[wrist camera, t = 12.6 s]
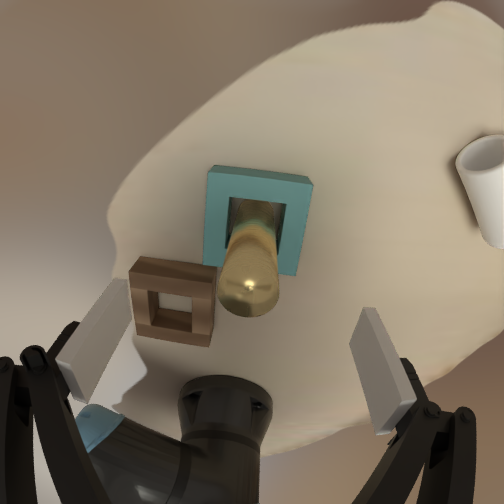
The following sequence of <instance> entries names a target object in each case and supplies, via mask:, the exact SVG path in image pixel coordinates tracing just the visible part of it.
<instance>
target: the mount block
mask: <svg viewBox="0 0 504 504" xmlns="http://www.w3.org/2000/svg"><path fill="white" fill-rule="evenodd" d="M216 273H217V267H216V266H208V265H201V264H193V263H185V262H178V261H170V260H163V259H155V258H148V257H141V256H140V257H139V259H138V260H137V261H136V262H135V264H134V265H133V266H132V268H131V269H130V270H129V280H130V289H131V297H132V305H133V312H134V319H135V325H136V331H137V335H140V336H145V337H150V338H155V339H161V340H166V341H172V342H177V343H183V344H190V345H196V346H202V347H209V346H210V341H211V337H212V332H213V326H214V306H215V289H216ZM158 292H161V293H167V294H174V295H181V296H187V297H192V313H188V312H181V311H175V310H169V309H162V308H159V299H158Z"/></svg>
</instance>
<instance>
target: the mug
mask: <svg viewBox="0 0 504 504" xmlns="http://www.w3.org/2000/svg"><path fill="white" fill-rule="evenodd" d="M455 164H456V169H457V171H458V173H459V175H460V178H461V180H462V182H463V185H464V187H465V190H466V192H467V195H468V197H469V200H470V202H471V205H472V208H473V210H474V213H475V216H476V219H477V222H478V225H479V228H480V231H481V234H482V237H483V239H484V240H485V241H486V242H487V243H488V244H489V245H490V246H492V247H495V248H499V249H504V135H489V136H485V137H482V138H479V139H477V140H475V141H473V142H471V143H470V144H468V145H467V146H466V147H464V148H463V149H462V150H461V152H460V153H459V154H458V156H457V158H456V163H455Z"/></svg>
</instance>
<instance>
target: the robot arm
mask: <svg viewBox="0 0 504 504" xmlns="http://www.w3.org/2000/svg"><path fill="white" fill-rule="evenodd" d="M131 320H132V316H131V309H130V301H129V293H128V285H127V280H126V279H120V278H114V279H113V281H112V282H111V283H110V285H109V286H108V287H107V288H106V290H105V291H104V292H103V293H102V295H101V296H100V297H99V299H98V300H97V301H96V303H95V304H94V305H93V307H92V308H91V309H90V311H89V312H88V314H87V315H86V316H85V317H84V319H83V320H82V321H81V323H80V322H76V321H73V322H72V323H70V324H69V325H67V326H66V327H65V328H64V330H63V331H62V332H61V334H60V335H59V336H58V338H57V340H56V341H55V342H54V343H53V345H52V346H51V348H50V349H49V350H48V352H47V353H46V352H45V350H44V349H43V348H42V347H41V346H38V345H33V346H29V347H26V348H25V349H24V350H23V351H22V353H21V354H20V360H21V362H22V364H23V366H22V365H15V364H14V362H13V360H12V359H11V358H9V357H6V356H5V357H0V504H38V502H37V495H36V486H35V475H34V457H33V414H34V418H35V422H36V426H37V431H38V435H39V439H40V442H41V446H42V449H43V453H44V456H45V459H46V462H47V466H48V468H49V472H50V474H51V477H52V480H53V483H54V485H55V488H56V490H57V493H58V496H59V498H60V501H61V504H259V473H260V446H261V443H262V441H263V438H264V436H265V434H266V431H267V429H268V426H269V424H270V422H271V419H272V400H271V397H270V396H269V394H268V393H267V392H266V391H265V390H263V389H262V388H261V387H259V386H257V385H256V384H254V383H251V382H249V381H246V380H243V379H239V378H235V377H229V376H206V377H201V378H197V379H194V380H192V381H190V382H188V383H187V384H186V385H185V386H184V387H183V388H182V390H181V393H180V397H179V400H178V411H179V419H180V425H181V432H182V438H181V442H180V441H178V440H176V439H173V438H171V437H168V436H166V435H163V434H161V433H159V432H156V431H154V430H152V429H149V428H147V427H145V426H143V425H141V424H139V423H136V422H134V421H132V420H130V419H128V418H126V417H125V416H124V415H123V414H117V413H115V412H113V411H111V410H109V409H107V408H105V407H103V406H101V405H98V404H90V405H87V406H85V407H84V408H83V409H82V410H81V412H80V413H79V414H78V416H77V417H76V419H75V418H74V416H73V413H72V409H71V406H70V403H69V400H68V399H67V397H68V395H69V393H70V392H71V394H72V396H73V398H74V399H75V400H78V401H81V402H84V403H86V404H88V402H89V400H90V398H91V396H92V394H93V392H94V389H95V388H96V386H97V384H98V381H99V379H100V378H101V375H102V373H103V371H104V370H105V368H106V366H107V364H108V362H109V360H110V358H111V356H112V354H113V352H114V351H115V349H116V347H117V345H118V343H119V341H120V339H121V338H122V336H123V334H124V332H125V330H126V329H127V327H128V325H129V323H130V321H131ZM349 345H350V348H351V351H352V354H353V357H354V361H355V364H356V367H357V371H358V374H359V377H360V381H361V384H362V387H363V391H364V394H365V398H366V401H367V405H368V409H369V412H370V416H371V420H372V423H373V427H374V431H375V435H381V434H389V433H390V432H391V431H392V430H393V429H394V428H395V427H396V431H397V434H396V435H395V436H394V437H393V438H392V439H391V440H390V442H389V443H388V445H389V447H388V449H387V450H386V452H385V454H384V455H383V457H382V459H381V461H380V462H379V464H378V465H377V467H376V468H375V470H374V472H373V473H372V475H371V476H370V478H369V480H368V481H367V483H366V484H365V485H364V487H363V488H362V490H361V491H360V493H359V494H358V495H357V497H356V498H355V500H354V501H353V502H352V504H404V503H405V501H406V499H407V498H408V496H409V494H410V492H411V490H412V488H413V486H414V484H415V482H416V480H417V478H418V476H419V474H420V471H421V469H422V467H423V465H424V463H425V465H424V470H423V476H422V481H421V486H420V490H419V495H418V499H417V503H416V504H473V495H474V486H475V472H476V417H475V414H474V413H473V411H472V410H471V409H470V408H467V407H459V408H458V409H457V410H456V411H455V412H454V413H452V412H445V411H441V409H440V407H439V406H438V405H437V404H436V403H434V402H431V401H429V400H428V397H427V395H426V393H425V391H424V388H423V386H422V384H421V382H420V380H419V377H418V375H417V374H416V371H415V369H414V367H413V365H412V364H411V363H410V362H409V360H408V359H407V358H399V356H398V354H397V352H396V350H395V347H394V345H393V343H392V341H391V339H390V337H389V335H388V333H387V331H386V329H385V327H384V324H383V322H382V320H381V318H380V316H379V314H378V312H377V310H376V308H369V307H363V309H362V312H361V315H360V317H359V320H358V323H357V325H356V328H355V330H354V333H353V335H352V338H351V340H350V343H349Z"/></svg>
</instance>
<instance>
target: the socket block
mask: <svg viewBox="0 0 504 504" xmlns="http://www.w3.org/2000/svg"><path fill="white" fill-rule="evenodd" d="M312 189H313V184H312V182H311V181H310V179H309V178H308V177H306V176H299V175H293V174H286V173H279V172H271V171H263V170H255V169H247V168H238V167H228V166H218V165H214V166H213V167H212V168H211V170H210V171H209V172H208V180H207V194H206V209H205V226H204V245H203V265H208V266H216V267H223V264H224V260H225V256H226V252H227V249H228V245H229V241H230V238H231V234H229V227H230V216H231V206H232V197H236V198H245V199H253V200H261V201H269V202H277V203H283V205H282V212H281V218H280V224H279V231H278V237H277V240H276V251H277V265H278V274H282V275H291V276H296V271H297V266H298V262H299V257H300V252H301V247H302V242H303V237H304V232H305V227H306V222H307V216H308V211H309V206H310V200H311V195H312Z"/></svg>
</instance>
